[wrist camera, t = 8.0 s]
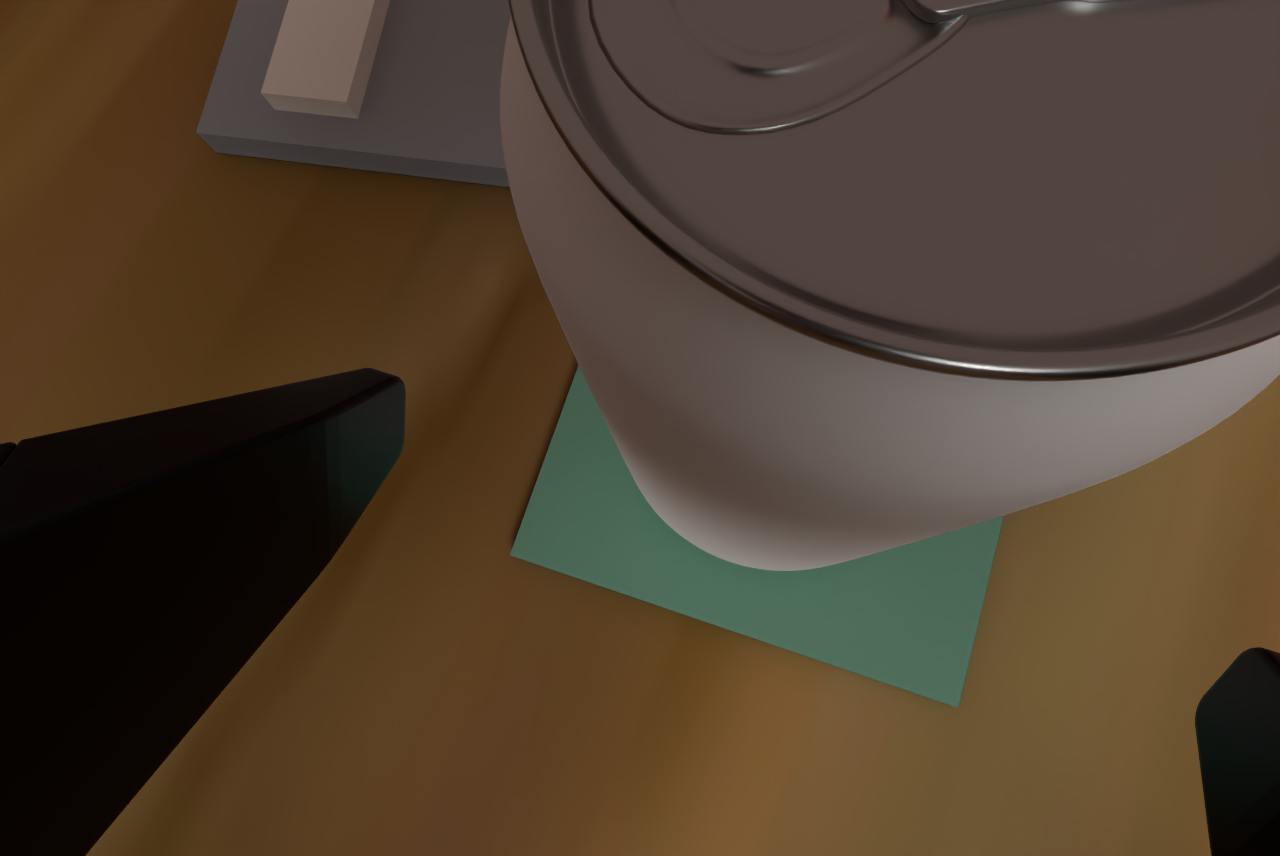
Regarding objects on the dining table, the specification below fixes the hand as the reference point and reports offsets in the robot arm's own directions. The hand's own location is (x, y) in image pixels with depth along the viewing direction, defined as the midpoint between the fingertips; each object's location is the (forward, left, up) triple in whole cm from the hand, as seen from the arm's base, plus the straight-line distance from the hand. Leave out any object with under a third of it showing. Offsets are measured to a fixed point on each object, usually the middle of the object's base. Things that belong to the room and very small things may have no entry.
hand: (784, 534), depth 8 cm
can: (+2, -2, -7) cm, 8 cm away
